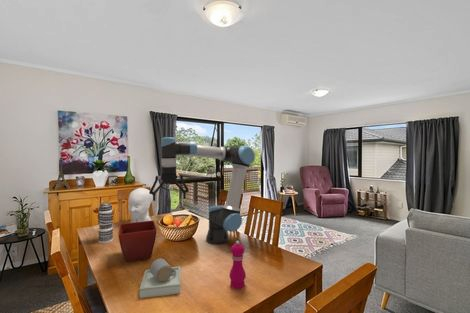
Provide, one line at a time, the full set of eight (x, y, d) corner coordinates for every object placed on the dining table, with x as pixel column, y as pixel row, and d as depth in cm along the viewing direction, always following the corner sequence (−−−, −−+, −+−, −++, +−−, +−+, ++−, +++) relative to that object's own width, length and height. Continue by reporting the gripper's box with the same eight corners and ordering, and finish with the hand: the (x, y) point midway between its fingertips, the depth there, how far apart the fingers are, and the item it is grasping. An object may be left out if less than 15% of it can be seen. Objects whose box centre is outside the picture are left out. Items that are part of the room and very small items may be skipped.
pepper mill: (228, 281, 110) (229, 238, 110) (244, 280, 111) (244, 237, 110) (229, 290, 103) (230, 244, 102) (246, 289, 103) (246, 243, 103)
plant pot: (118, 266, 124) (118, 234, 123) (119, 252, 141) (119, 223, 141) (156, 259, 131) (156, 229, 131) (153, 247, 149) (153, 220, 148)
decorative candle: (114, 241, 158) (114, 203, 158) (98, 244, 153) (98, 205, 152) (112, 237, 166) (112, 201, 165) (97, 239, 160) (97, 202, 160)
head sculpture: (119, 228, 184) (119, 189, 184) (136, 220, 207) (136, 185, 206) (143, 230, 181) (143, 190, 180) (157, 221, 203) (157, 186, 203)
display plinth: (180, 274, 116) (180, 266, 116) (180, 293, 100) (180, 284, 100) (145, 277, 112) (145, 269, 112) (139, 298, 97) (139, 288, 97)
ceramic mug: (157, 285, 101) (157, 267, 101) (149, 277, 107) (150, 260, 107) (179, 277, 107) (180, 260, 107) (171, 270, 114) (172, 254, 114)
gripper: (192, 165, 134) (192, 202, 134) (144, 166, 128) (145, 205, 128) (193, 166, 126) (193, 206, 127) (143, 167, 120) (144, 209, 121)
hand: (169, 206), depth 128 cm, fingers open, 13 cm apart
